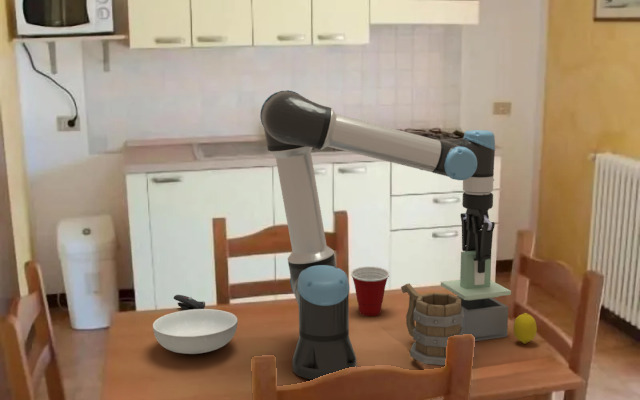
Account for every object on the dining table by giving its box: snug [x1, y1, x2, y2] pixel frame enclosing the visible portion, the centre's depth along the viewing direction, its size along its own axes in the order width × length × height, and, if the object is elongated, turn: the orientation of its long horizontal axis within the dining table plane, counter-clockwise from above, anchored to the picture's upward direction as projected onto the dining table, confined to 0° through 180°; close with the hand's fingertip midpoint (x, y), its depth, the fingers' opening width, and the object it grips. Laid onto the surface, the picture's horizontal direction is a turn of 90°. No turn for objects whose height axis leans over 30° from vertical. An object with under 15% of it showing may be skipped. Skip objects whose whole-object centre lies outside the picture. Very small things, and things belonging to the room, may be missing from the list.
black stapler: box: [173, 294, 206, 311], centre depth 219 cm, size 18×7×6 cm, turn 29°
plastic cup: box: [350, 266, 390, 317], centre depth 216 cm, size 11×11×12 cm
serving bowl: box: [152, 308, 239, 355], centre depth 193 cm, size 21×21×7 cm
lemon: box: [513, 312, 538, 345], centre depth 192 cm, size 6×6×8 cm
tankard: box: [400, 283, 464, 367], centre depth 188 cm, size 20×13×15 cm, turn 30°
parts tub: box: [456, 295, 509, 342], centre depth 201 cm, size 12×12×8 cm
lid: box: [440, 251, 512, 300], centre depth 199 cm, size 13×13×11 cm
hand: (475, 282), depth 199 cm, fingers closed on lid, 3 cm apart
